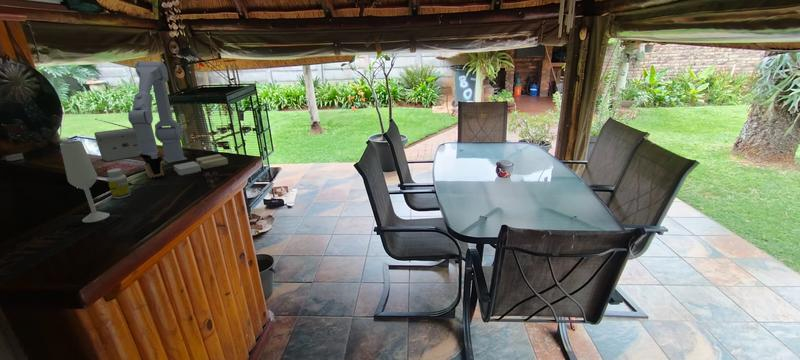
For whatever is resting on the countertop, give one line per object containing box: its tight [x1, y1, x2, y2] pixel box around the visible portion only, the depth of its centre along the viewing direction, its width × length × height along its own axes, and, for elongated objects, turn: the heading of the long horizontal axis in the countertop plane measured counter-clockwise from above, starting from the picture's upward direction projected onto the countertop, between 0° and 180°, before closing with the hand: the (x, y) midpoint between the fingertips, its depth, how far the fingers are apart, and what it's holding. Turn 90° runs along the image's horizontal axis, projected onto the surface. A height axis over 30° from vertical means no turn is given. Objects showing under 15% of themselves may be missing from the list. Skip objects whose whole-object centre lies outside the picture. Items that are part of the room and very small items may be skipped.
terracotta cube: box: [144, 163, 165, 179], centre depth 146 cm, size 5×5×5 cm
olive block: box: [195, 153, 229, 170], centre depth 160 cm, size 10×10×3 cm
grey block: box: [173, 161, 202, 176], centre depth 151 cm, size 8×8×3 cm
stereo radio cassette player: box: [94, 118, 141, 163], centre depth 167 cm, size 21×8×20 cm, turn 133°
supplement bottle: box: [106, 167, 132, 200], centre depth 124 cm, size 5×5×10 cm
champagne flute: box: [59, 140, 110, 223], centre depth 106 cm, size 7×7×24 cm
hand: (154, 171), depth 146 cm, fingers open, 7 cm apart
